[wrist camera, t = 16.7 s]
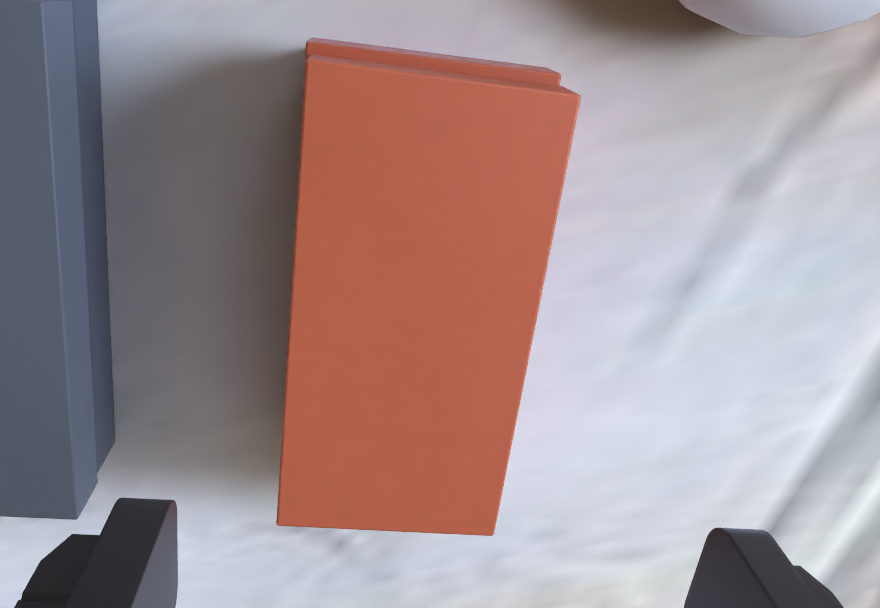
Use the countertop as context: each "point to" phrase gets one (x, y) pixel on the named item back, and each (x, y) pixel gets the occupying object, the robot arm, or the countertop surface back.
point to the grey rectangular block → (52, 261)
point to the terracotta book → (414, 291)
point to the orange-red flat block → (431, 61)
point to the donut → (783, 15)
